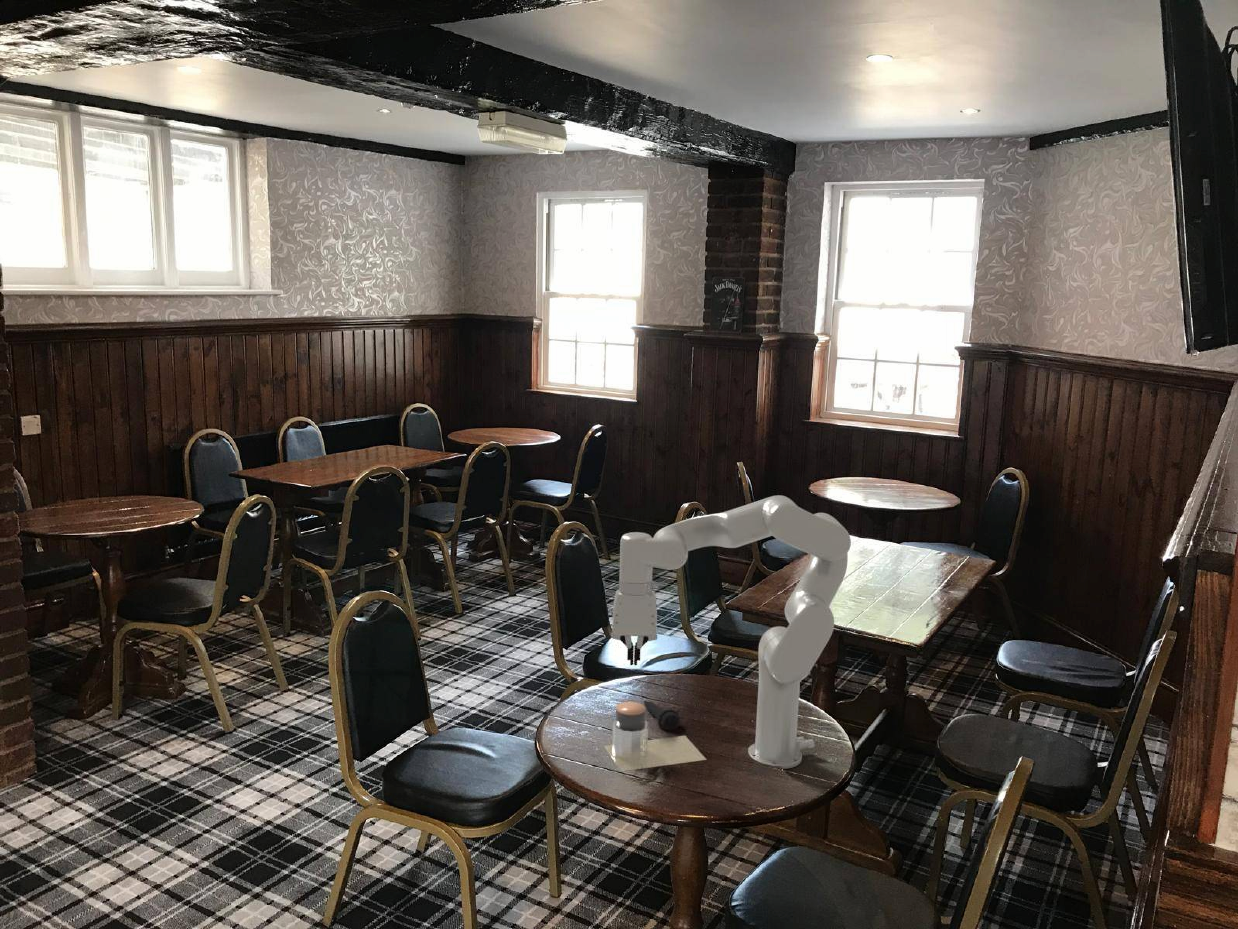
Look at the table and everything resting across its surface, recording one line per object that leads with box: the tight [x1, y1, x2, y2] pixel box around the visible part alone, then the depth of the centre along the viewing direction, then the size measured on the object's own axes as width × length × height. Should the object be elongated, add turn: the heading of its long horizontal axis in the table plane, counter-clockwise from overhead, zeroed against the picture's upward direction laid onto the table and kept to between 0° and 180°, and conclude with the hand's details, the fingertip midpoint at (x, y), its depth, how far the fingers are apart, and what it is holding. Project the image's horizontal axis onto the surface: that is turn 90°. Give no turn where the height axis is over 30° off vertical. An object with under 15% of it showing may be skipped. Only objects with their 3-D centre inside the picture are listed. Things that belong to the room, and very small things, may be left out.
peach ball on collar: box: [615, 701, 646, 730], centre depth 231 cm, size 7×7×7 cm
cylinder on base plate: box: [603, 719, 707, 772], centre depth 232 cm, size 21×13×8 cm, turn 109°
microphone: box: [643, 700, 681, 732], centre depth 253 cm, size 6×6×20 cm
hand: (633, 663), depth 229 cm, fingers closed
